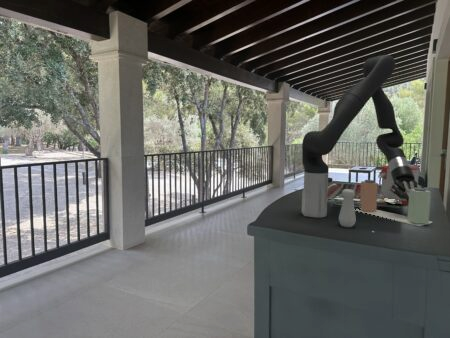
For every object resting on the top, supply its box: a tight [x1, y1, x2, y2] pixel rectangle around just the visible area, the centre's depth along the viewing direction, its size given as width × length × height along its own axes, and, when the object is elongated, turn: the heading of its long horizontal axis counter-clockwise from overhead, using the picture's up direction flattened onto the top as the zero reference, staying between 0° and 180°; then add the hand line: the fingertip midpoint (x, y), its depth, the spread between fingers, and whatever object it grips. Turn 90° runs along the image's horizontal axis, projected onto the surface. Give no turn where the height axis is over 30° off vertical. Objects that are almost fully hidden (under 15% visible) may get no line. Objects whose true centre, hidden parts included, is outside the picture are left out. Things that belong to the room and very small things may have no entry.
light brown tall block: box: [359, 179, 379, 211], centre depth 143 cm, size 5×5×12 cm
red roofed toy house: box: [377, 165, 420, 206], centre depth 161 cm, size 16×17×20 cm
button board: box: [355, 208, 433, 227], centre depth 136 cm, size 28×9×1 cm, turn 33°
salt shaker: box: [338, 188, 357, 228], centre depth 121 cm, size 6×6×13 cm
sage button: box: [407, 188, 432, 225], centre depth 124 cm, size 5×5×12 cm
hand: (414, 207), depth 127 cm, fingers closed
